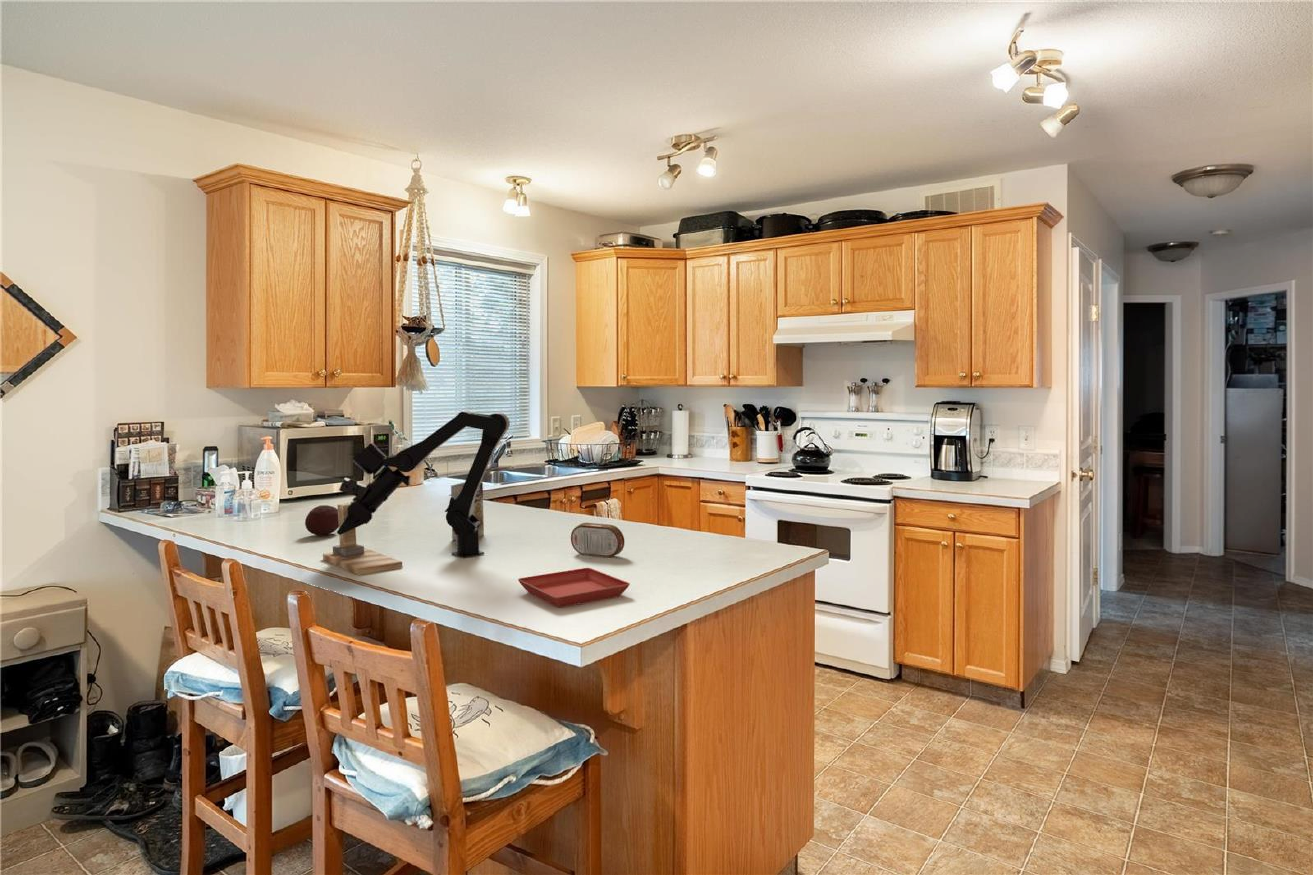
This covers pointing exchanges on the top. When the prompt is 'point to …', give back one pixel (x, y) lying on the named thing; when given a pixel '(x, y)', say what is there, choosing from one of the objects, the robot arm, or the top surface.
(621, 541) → the tin
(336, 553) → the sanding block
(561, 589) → the plant saucer
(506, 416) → the robot arm
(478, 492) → the coffee box
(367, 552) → the board
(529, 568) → the top surface
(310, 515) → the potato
